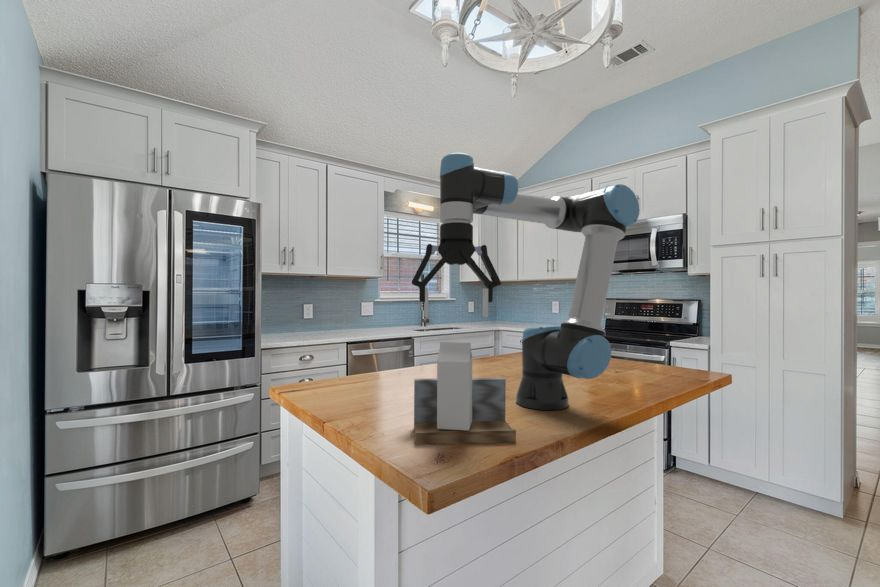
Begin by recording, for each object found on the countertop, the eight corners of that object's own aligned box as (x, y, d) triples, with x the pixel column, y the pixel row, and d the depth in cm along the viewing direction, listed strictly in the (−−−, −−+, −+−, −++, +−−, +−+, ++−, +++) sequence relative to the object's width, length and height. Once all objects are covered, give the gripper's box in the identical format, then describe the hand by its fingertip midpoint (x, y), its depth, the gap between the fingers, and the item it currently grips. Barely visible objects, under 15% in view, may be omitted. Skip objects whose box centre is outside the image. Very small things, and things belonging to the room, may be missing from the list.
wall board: (503, 426, 101) (503, 377, 101) (515, 442, 90) (516, 387, 90) (413, 428, 99) (414, 378, 99) (415, 445, 88) (416, 389, 88)
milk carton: (469, 431, 89) (469, 343, 90) (436, 429, 91) (437, 343, 91) (472, 422, 96) (472, 341, 97) (442, 421, 98) (442, 340, 98)
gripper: (505, 227, 99) (505, 315, 99) (401, 225, 96) (401, 315, 96) (514, 222, 91) (513, 317, 91) (401, 219, 89) (401, 317, 89)
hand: (456, 317), depth 94 cm, fingers open, 13 cm apart
